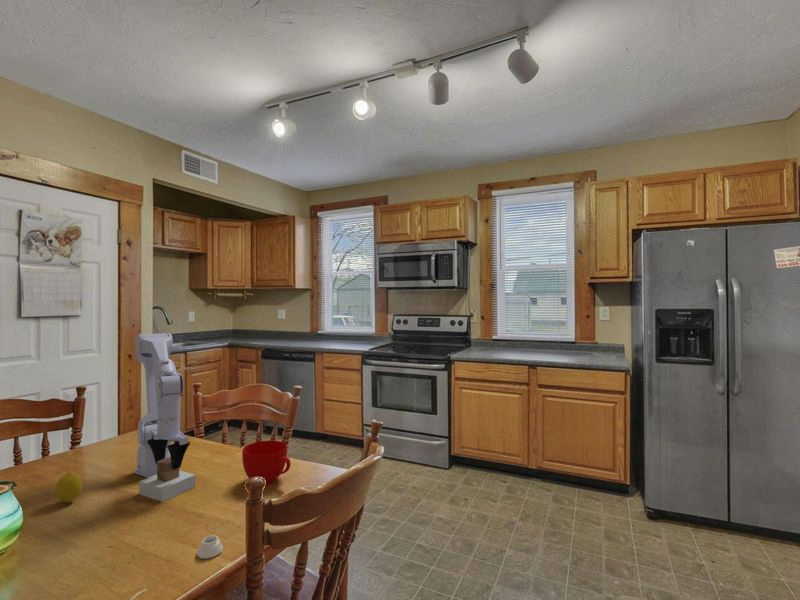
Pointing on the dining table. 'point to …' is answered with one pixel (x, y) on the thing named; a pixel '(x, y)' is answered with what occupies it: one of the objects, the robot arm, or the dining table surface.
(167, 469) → the walnut block
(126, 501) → the dining table surface
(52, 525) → the dining table surface
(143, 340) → the robot arm
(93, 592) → the dining table surface
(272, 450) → the ceramic cup
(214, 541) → the white tapered collar
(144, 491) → the base block
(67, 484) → the lemon
